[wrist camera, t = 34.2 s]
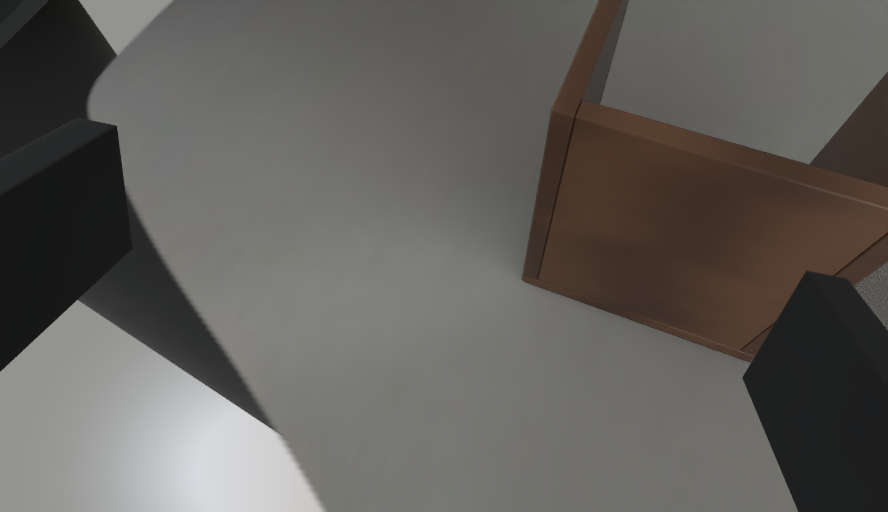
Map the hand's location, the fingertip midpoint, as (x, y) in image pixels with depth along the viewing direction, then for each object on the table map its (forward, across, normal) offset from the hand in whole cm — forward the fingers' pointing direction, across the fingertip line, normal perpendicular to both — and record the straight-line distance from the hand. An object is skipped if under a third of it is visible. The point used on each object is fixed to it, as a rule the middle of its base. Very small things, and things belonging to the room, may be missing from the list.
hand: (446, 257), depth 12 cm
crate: (+11, +8, -5) cm, 14 cm away
